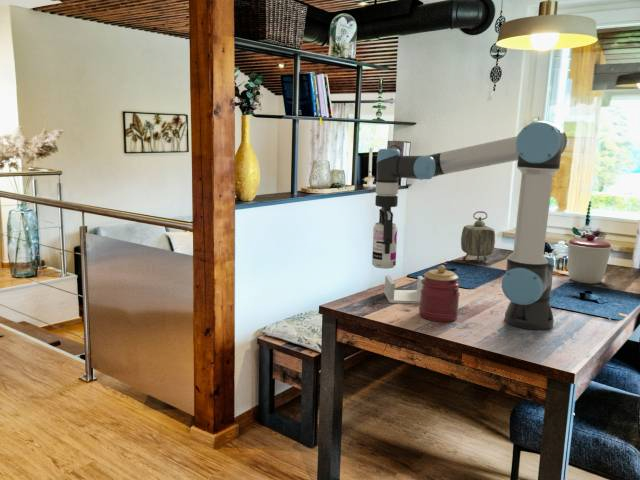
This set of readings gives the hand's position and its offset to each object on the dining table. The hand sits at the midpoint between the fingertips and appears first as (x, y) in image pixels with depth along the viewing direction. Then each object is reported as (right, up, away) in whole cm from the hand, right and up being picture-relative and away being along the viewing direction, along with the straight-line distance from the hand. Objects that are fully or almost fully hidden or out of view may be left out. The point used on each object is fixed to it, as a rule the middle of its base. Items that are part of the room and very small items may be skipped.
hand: (384, 259), depth 193 cm
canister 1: (+18, -19, -6) cm, 26 cm away
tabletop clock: (+55, -4, +80) cm, 98 cm away
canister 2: (+93, -11, +49) cm, 106 cm away
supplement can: (0, -2, 0) cm, 3 cm away
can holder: (+10, -15, +15) cm, 23 cm away
